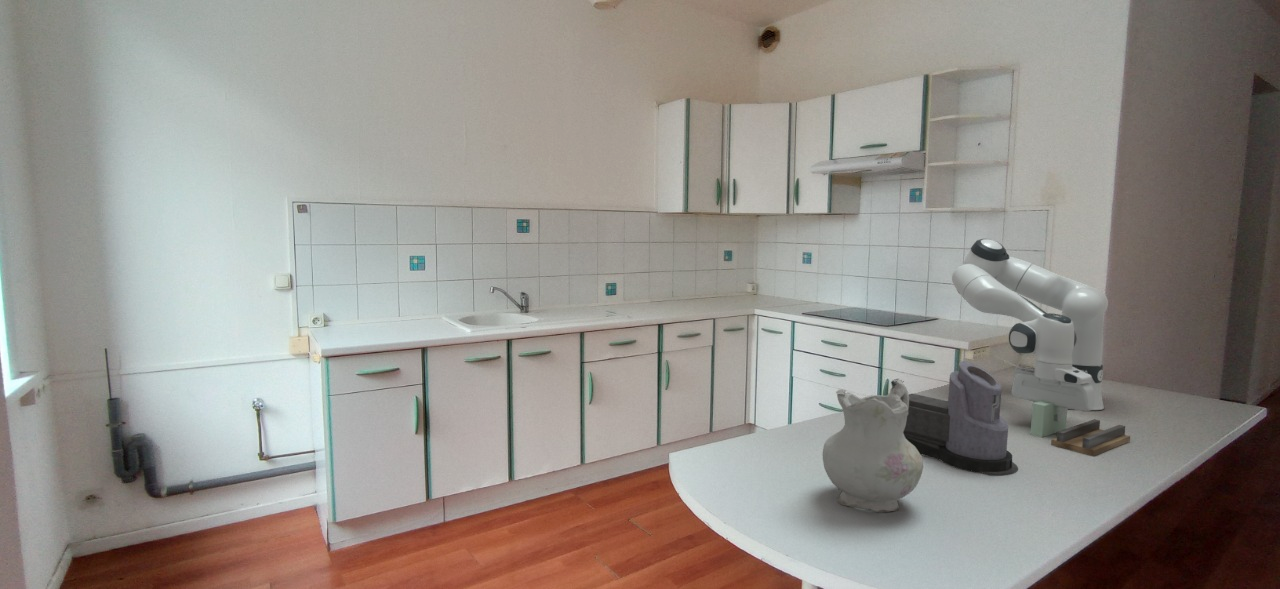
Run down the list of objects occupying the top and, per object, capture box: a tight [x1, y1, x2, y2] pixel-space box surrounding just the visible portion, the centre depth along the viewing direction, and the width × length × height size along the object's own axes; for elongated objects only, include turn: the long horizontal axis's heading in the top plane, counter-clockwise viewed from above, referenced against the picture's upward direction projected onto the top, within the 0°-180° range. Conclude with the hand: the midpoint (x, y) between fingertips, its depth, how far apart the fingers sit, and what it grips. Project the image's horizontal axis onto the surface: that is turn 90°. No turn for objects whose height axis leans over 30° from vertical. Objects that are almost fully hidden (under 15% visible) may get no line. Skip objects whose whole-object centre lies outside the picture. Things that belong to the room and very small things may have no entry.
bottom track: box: [1050, 418, 1131, 457], centre depth 169 cm, size 10×22×4 cm, turn 123°
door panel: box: [1030, 401, 1068, 438], centre depth 179 cm, size 3×14×9 cm, turn 123°
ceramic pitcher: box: [822, 378, 924, 513], centre depth 131 cm, size 22×20×25 cm
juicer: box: [903, 360, 1019, 477], centre depth 158 cm, size 30×16×24 cm, turn 38°
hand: (1049, 419), depth 179 cm, fingers closed on door panel, 3 cm apart
